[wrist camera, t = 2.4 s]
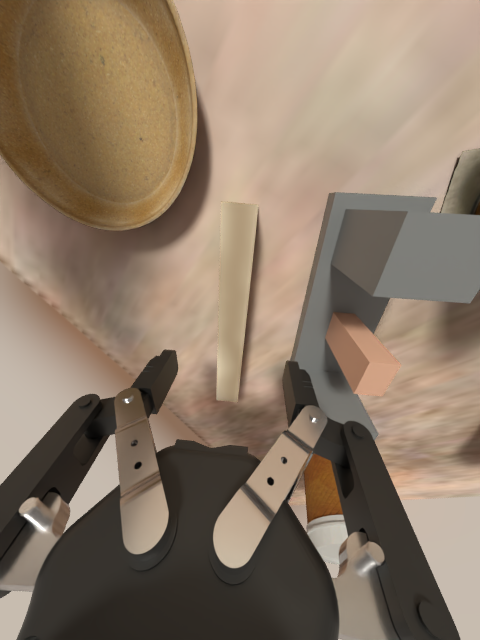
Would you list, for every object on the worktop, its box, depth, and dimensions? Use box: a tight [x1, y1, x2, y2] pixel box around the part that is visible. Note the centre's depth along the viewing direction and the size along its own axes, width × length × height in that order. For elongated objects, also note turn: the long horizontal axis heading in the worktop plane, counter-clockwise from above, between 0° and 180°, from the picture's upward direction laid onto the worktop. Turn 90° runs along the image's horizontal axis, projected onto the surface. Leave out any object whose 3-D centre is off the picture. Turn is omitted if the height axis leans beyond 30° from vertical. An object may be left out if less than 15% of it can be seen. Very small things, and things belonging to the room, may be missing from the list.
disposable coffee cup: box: [304, 454, 348, 564], centre depth 27 cm, size 10×10×12 cm
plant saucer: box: [0, 0, 197, 231], centre depth 13 cm, size 15×15×3 cm
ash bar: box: [216, 201, 259, 402], centre depth 20 cm, size 2×20×4 cm, turn 175°
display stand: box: [291, 192, 480, 454], centre depth 17 cm, size 7×22×8 cm, turn 177°
